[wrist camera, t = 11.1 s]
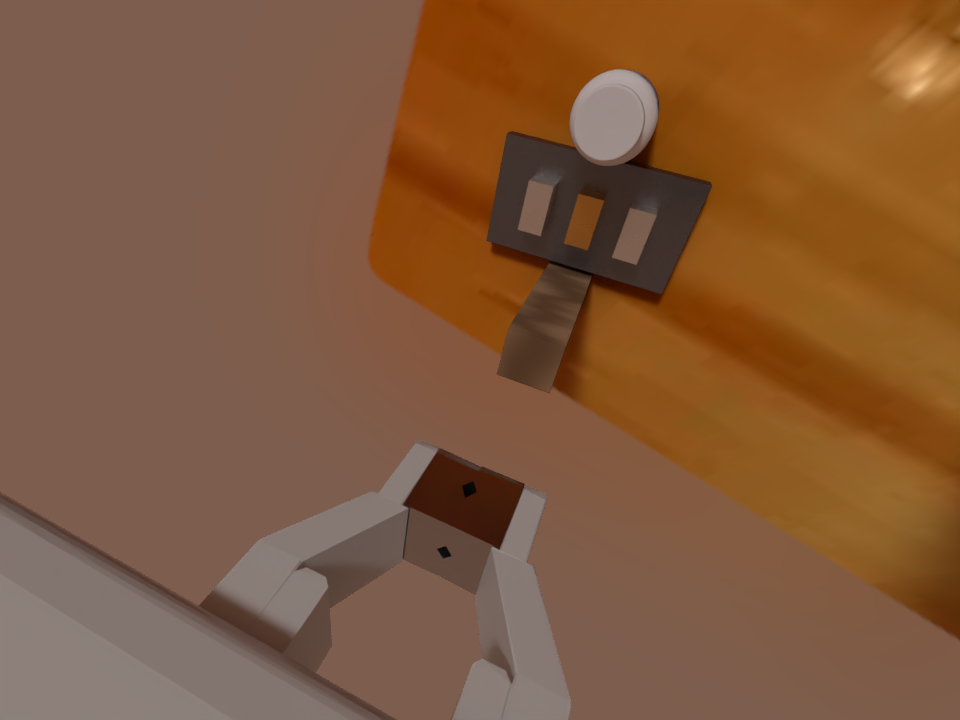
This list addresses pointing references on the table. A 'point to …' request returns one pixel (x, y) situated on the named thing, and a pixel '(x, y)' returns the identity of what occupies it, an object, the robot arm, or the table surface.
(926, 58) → the table surface
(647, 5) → the table surface
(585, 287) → the walnut post
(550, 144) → the breaker strip
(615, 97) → the pill bottle
